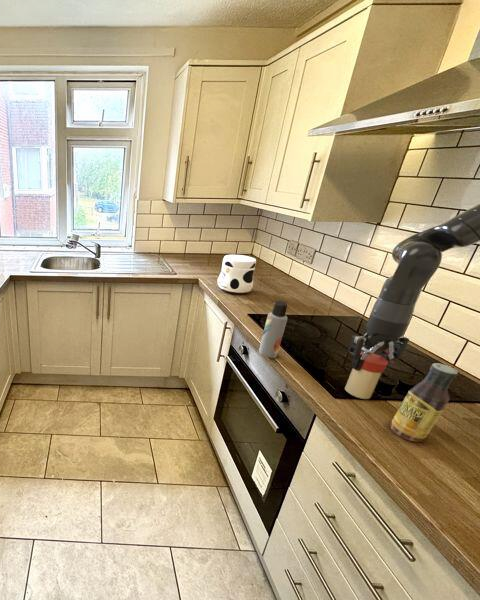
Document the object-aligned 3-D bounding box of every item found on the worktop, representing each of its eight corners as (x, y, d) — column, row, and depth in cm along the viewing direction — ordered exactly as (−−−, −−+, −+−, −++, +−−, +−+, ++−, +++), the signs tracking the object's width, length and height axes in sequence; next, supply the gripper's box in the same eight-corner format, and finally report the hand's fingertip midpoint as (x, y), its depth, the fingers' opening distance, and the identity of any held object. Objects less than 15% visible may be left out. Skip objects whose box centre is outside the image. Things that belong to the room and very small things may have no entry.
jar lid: (369, 359, 92) (373, 351, 91) (391, 372, 86) (395, 364, 85) (347, 359, 92) (350, 351, 91) (367, 373, 86) (371, 364, 85)
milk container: (209, 286, 176) (214, 255, 169) (234, 283, 181) (240, 253, 174) (232, 297, 161) (239, 263, 154) (258, 294, 166) (266, 261, 159)
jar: (360, 386, 95) (373, 354, 91) (376, 399, 89) (391, 366, 85) (339, 385, 95) (352, 353, 91) (354, 398, 90) (368, 365, 85)
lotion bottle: (279, 355, 111) (294, 302, 103) (271, 360, 108) (286, 306, 100) (263, 348, 115) (276, 297, 107) (255, 352, 112) (268, 301, 105)
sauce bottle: (382, 424, 81) (414, 358, 73) (407, 424, 81) (441, 358, 73) (405, 444, 75) (443, 375, 67) (432, 445, 74) (473, 375, 67)
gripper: (376, 322, 79) (354, 377, 85) (431, 321, 80) (405, 376, 86) (351, 310, 86) (332, 361, 92) (402, 309, 86) (379, 360, 93)
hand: (367, 368), depth 89 cm, fingers closed on jar lid, 6 cm apart
